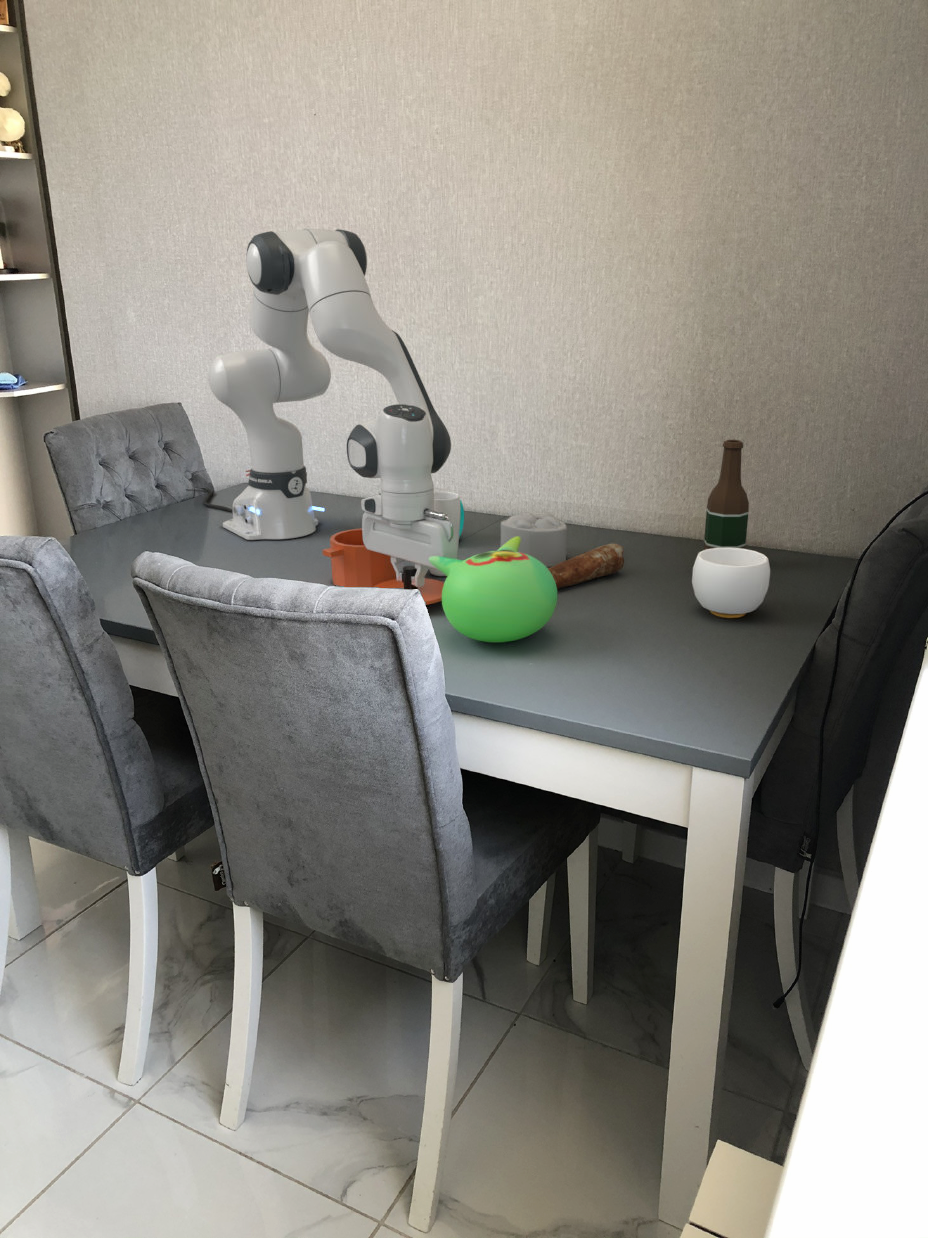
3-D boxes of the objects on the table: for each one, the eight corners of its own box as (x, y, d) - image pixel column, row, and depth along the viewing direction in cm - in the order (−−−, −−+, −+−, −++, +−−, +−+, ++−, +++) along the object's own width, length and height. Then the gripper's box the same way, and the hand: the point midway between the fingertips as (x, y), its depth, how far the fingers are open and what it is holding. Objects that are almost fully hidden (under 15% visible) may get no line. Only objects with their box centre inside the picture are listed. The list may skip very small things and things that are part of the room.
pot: (307, 585, 177) (304, 540, 175) (381, 564, 190) (379, 522, 187) (352, 600, 169) (349, 553, 166) (425, 577, 181) (424, 533, 178)
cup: (753, 630, 153) (759, 572, 150) (679, 617, 159) (683, 560, 156) (775, 607, 163) (780, 552, 160) (704, 596, 169) (708, 542, 166)
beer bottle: (746, 562, 188) (758, 438, 179) (739, 573, 181) (751, 445, 173) (706, 558, 191) (716, 436, 182) (698, 569, 184) (707, 442, 176)
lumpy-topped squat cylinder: (525, 547, 200) (525, 506, 197) (577, 558, 192) (579, 515, 189) (493, 558, 192) (493, 516, 189) (547, 570, 184) (548, 526, 181)
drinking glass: (457, 579, 180) (456, 500, 175) (421, 577, 181) (419, 499, 176) (464, 568, 186) (463, 492, 181) (430, 567, 187) (428, 490, 182)
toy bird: (467, 665, 141) (466, 569, 136) (425, 628, 156) (422, 540, 151) (574, 645, 148) (577, 553, 143) (524, 612, 163) (525, 527, 157)
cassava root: (626, 574, 181) (628, 546, 179) (552, 596, 170) (552, 565, 168) (602, 567, 186) (603, 539, 184) (528, 587, 175) (528, 557, 173)
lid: (354, 597, 167) (352, 568, 165) (412, 579, 176) (411, 551, 175) (409, 615, 158) (408, 585, 156) (467, 595, 167) (466, 566, 166)
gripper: (465, 511, 157) (466, 592, 162) (381, 493, 170) (385, 568, 175) (438, 518, 153) (440, 601, 157) (354, 499, 166) (358, 576, 171)
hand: (410, 583), depth 166 cm, fingers closed on lid, 2 cm apart
